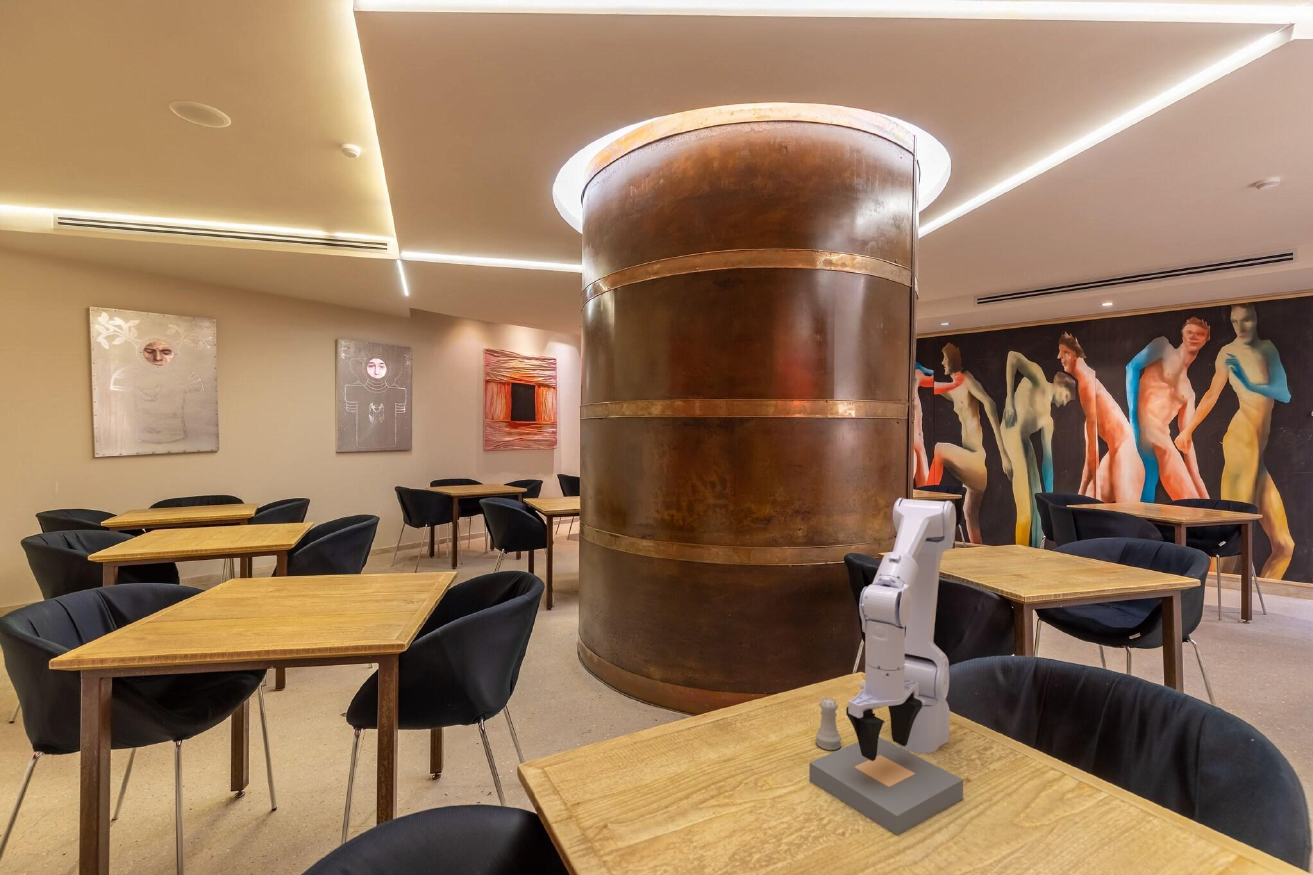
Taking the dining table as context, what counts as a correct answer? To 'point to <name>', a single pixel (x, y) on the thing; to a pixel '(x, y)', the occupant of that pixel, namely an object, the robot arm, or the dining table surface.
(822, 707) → the rook chess piece
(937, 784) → the grey flat square slab
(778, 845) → the dining table surface
